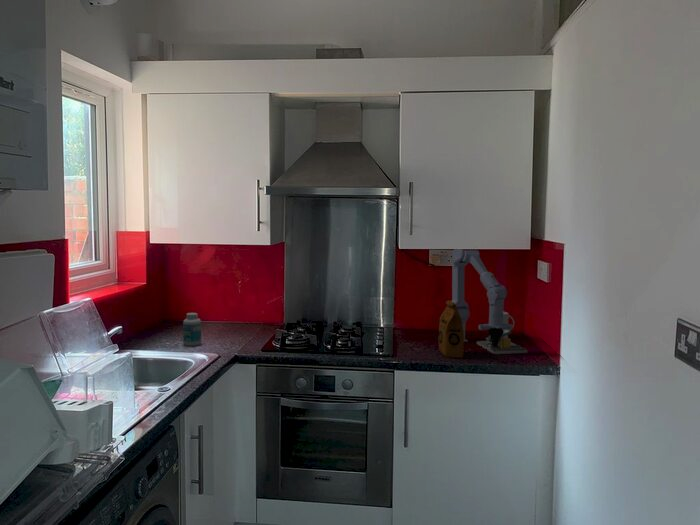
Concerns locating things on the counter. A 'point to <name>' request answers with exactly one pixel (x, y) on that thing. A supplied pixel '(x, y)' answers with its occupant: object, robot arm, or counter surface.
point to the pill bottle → (192, 330)
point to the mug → (506, 320)
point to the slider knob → (505, 342)
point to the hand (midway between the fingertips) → (494, 346)
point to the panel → (499, 350)
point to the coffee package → (451, 332)
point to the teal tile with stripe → (506, 332)
